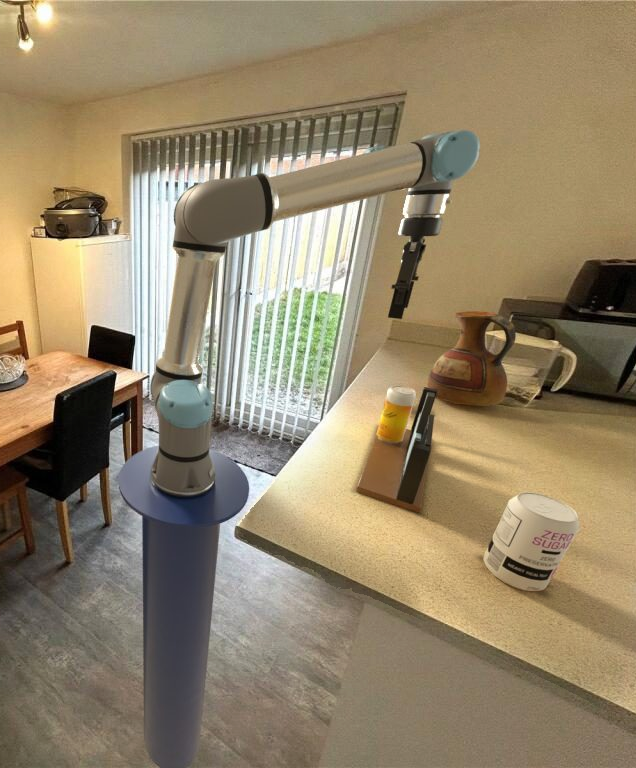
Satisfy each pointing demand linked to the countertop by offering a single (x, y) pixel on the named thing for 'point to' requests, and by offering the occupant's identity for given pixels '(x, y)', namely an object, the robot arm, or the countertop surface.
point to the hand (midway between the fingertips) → (397, 312)
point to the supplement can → (531, 540)
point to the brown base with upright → (399, 466)
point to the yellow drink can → (396, 414)
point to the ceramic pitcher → (473, 363)
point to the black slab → (420, 423)
